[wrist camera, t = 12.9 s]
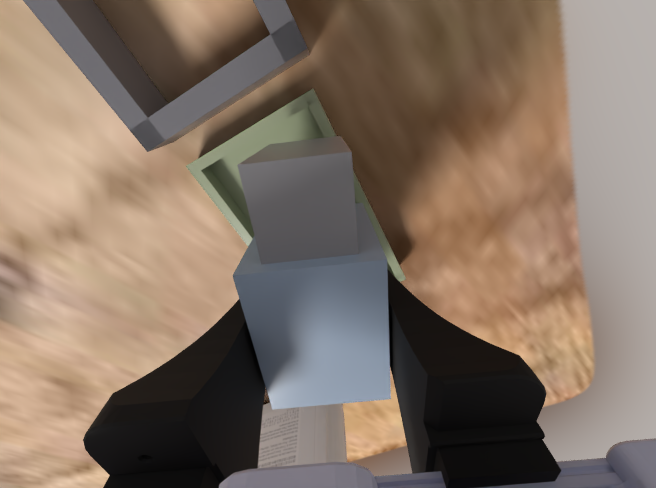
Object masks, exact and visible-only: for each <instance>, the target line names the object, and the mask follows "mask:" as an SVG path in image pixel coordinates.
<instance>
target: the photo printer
mask: <svg viewBox="0 0 656 488" xmlns="http://www.w3.org/2000/svg"><path fill="white" fill-rule="evenodd" d="M329 462H346V463H347V453H346V437H345V423H344V412H343V404H342V403H340V404H329V405H318V406H307V407H296V408H285V409H273V410H272V406H271V403H267V404H264V405H263V412H262V423H261V433H260V445H259V457H258V468H268V467H280V466H292V465H305V464H317V463H329Z"/></svg>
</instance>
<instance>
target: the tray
mask: <svg viewBox="0 0 656 488" xmlns="http://www.w3.org/2000/svg"><path fill="white" fill-rule="evenodd" d="M334 136H337V135H336V133H335V131H334V129H333V127H332V125H331V123H330V121H329V119H328V117H327V115H326V113H325V111H324V109H323V107H322V105H321V103H320V100H319V98H318V96H317V94H316V92H315V90H314V88H313V89H311V90H310V91H308V92H306V93H305V94H303V95H301V96H300V97H298V98H297V99H295V100H293V101H292V102H290V103H288V104H287V105H285V106H283V107H282V108H280V109H279V110H277V111H275V112H274V113H272V114H270V115H269V116H267V117H265V118H264V119H262V120H261V121H259V122H257V123H256V124H254V125H252V126H251V127H249V128H248V129H246V130H244V131H243V132H241V133H239V134H238V135H236V136H234V137H233V138H231V139H230V140H228V141H226V142H225V143H223V144H221V145H220V146H218V147H216V148H215V149H213V150H212V151H210V152H208V153H207V154H205V155H203V156H202V157H200V158H198V159H197V160H195V161H194V162H192V163H190V164H189V165H187V166H186V167H187V168H188V170H189V171H190V172H191V174H192V175H193V176H194V177H195V179H196V180H197V181H198V183H199V184H200V185H201V186H202V188H203V189H204V190H205V192H206V193H207V194H208V195H209V197H210V198H211V199H212V201H213V202H214V203H215V204H216V206H217V207H218V208H219V210H220V211H221V212H222V214H223V215H224V216H225V217H226V219H227V220H228V221H229V223H230V224H231V225H232V226H233V228H234V229H235V230H236V232H237V233H238V234H239V235H240V237H241V238H242V239H243V241H244V242H245V243H246V244H247V246H249V245H250V243H251V241H252V239H253V237H254V232H253V228H252V224H251V219H250V215H249V211H248V207H247V203H246V199H245V195H244V190H243V186H242V182H241V178H240V174H239V170H238V166H237V165H238V164H240V163H241V162H243V161H244V160H246V159H247V158H249V157H251V156H252V155H254V154H255V153H257V152H258V151H260V150H261V149H263V148H264V147H266V146H268V145H269V144H276V143H284V142H292V141H301V140H309V139H317V138H326V137H334ZM353 177H354V191H355V204H356V203H363V205H364V207H365V209H366V212H367V214H368V216H369V219H370V221H371V223H372V225H373V228H374V230H375V232H376V235H377V237H378V239H379V242H380V244H381V246H382V249H383V251H384V253H385V256H386V258H387V268H388V270H389V271H390V272H391V273H392V274H393V275H394V276H395V277H396V279H397V280H398V281H399V282H400V281H403V280H405V279H406V278H405V276H404V274H403V271H402V269H401V267H400V265H399V263H398V261H397V259H396V257H395V255H394V252H393V250H392V248H391V246H390V244H389V242H388V240H387V238H386V236H385V234H384V232H383V230H382V228H381V226H380V224H379V222H378V220H377V218H376V216H375V213H374V211H373V209H372V207H371V205H370V203H369V201H368V199H367V197H366V195H365V193H364V191H363V189H362V187H361V185H360V183H359V181H358V179H357V176H356V174H355V172H354V170H353Z"/></svg>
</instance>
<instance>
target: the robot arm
mask: <svg viewBox="0 0 656 488" xmlns="http://www.w3.org/2000/svg"><path fill="white" fill-rule="evenodd" d="M387 273H388V314H389V355H390V367H391V371H392V375H393V379H394V384H395V388H396V393H397V398H398V402H399V407H400V412H401V417H402V422H403V427H404V432H405V437H406V442H407V447H408V452H409V457H410V462H411V468H412V473H413V474H402V475H388V476H376V477H374V476H373V474H372V473H371V471H370V470H368V469H367V468H365V467H363V466H360V465H358V464H355V463H346V462H329V463H317V464H305V465H292V466H280V467H268V468H258V457H259V445H260V433H261V423H262V412H263V403H264V395H265V383H264V380H263V376H262V373H261V369H260V366H259V363H258V359H257V356H256V353H255V349H254V346H253V342H252V339H251V336H250V332H249V329H248V326H247V322H246V319H245V316H244V312H243V309H242V305H241V302H240V299H239V300H238V301H237V302H236V303H235V304H234V306H233V307H232V308H231V309H230V310H229V311H228V312H227V313H226V314H225V315H224V316H223V317H222V318H221V319H220V320H219V321H218V322H217V323H216V324H215V325H214V326H213V327H212V328H211V329H209V330H208V331H207V332H206V333H205V334H204V335H202V336H201V337H200V338H199V339H198V340H196V341H195V342H194V343H193V344H191V345H190V346H189V347H187V348H186V349H185V350H183V351H182V352H181V353H179V354H178V355H177V356H175V357H174V358H172V359H171V360H169V361H168V362H166V363H165V364H163V365H162V366H160V367H159V368H157V369H155V370H154V371H152V372H151V373H149V374H147V375H146V376H144V377H142V378H140V379H139V380H137V381H135V382H133V383H131V384H130V385H128V386H126V387H124V388H122V389H121V390H119V391H117V392H115V393H113V394H112V396H111V397H110V398H109V400H108V401H107V403H106V404H105V406H104V407H103V409H102V410H101V412H100V413H99V415H98V416H97V418H96V419H95V421H94V422H93V424H92V425H91V426H90V428H89V429H88V431H87V432H86V434H85V437H84V439H83V441H84V445H85V449H86V451H87V452H88V453H89V455H90V456H91V457H92V458H93V459H94V460H95V461H96V462H97V463H98V464H99V465H100V466H101V467H102V468H103V469H104V470H105V471H106V472H107V473H108V474H109V475H110V476H109V478H108V480H107V482H106V484H105V486H104V487H103V488H656V439H644V440H632V441H625V442H620V443H618V444H615V445H613V446H612V447H611V448H610V449H609V451H608V452H607V455H606V458H598V459H586V460H573V461H561V462H556V461H555V459H554V457H553V456H552V454H551V453H550V451H549V450H548V448H547V446H546V445H545V443H544V442H543V440H542V439H544V437H545V435H544V432H543V431H542V429H541V428H540V426H539V424H538V423H537V418H538V416H539V414H540V411H541V409H542V407H543V405H544V402H545V397H546V391H545V387H544V386H543V384H542V383H541V382H540V380H539V379H538V378H537V376H536V375H535V373H534V372H533V371H532V370H531V368H530V367H529V366H528V365H527V364H526V363H525V362H524V360H523V359H522V358H521V357H520V356H519V355H517V354H514V353H512V352H509V351H507V350H504V349H502V348H500V347H497V346H495V345H492V344H490V343H488V342H486V341H484V340H482V339H480V338H477V337H475V336H473V335H471V334H470V333H468V332H466V331H464V330H462V329H460V328H459V327H457V326H455V325H454V324H452V323H450V322H448V321H447V320H445V319H444V318H442V317H441V316H439V315H438V314H436V313H435V312H434V311H432V310H431V309H429V308H428V307H427V306H426V305H424V304H423V303H422V302H421V301H420V300H418V299H417V298H416V297H415V296H414V295H413V294H412V293H411V292H409V291H408V290H407V289H406V288H405V287H404V286H403V285H402V284H401V283H400V282H399V281H398V280H397V279H396V277H395V276H394V275H393V274H392V273H391V272H390V271H389V270H388V268H387Z"/></svg>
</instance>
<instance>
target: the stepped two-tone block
mask: <svg viewBox="0 0 656 488" xmlns="http://www.w3.org/2000/svg"><path fill="white" fill-rule="evenodd" d="M237 166H238V170H239V174H240V178H241V182H242V186H243V190H244V195H245V199H246V203H247V207H248V211H249V215H250V219H251V224H252V228H253V232H254V237H253V239H252V241H251V243H250V245H249V246H248V248H247V250H246V252H245V254H244V256H243V258H242V259H241V261H240V263H239V265H238V267H237V269H236V270H235V272H234V274H233V278H234V282H235V285H236V289H237V292H238V295H239V299H240V302H241V305H242V309H243V312H244V316H245V319H246V322H247V326H248V329H249V332H250V336H251V339H252V342H253V346H254V349H255V353H256V356H257V359H258V363H259V366H260V369H261V373H262V376H263V380H264V383H265V386H266V390H267V393H268V396H269V400H270V403H271V406H272V410H273V409H285V408H296V407H307V406H318V405H329V404H340V403H352V402H363V401H374V400H385V399H391V396H390V355H389V314H388V273H387V258H386V256H385V253H384V251H383V249H382V246H381V244H380V242H379V239H378V237H377V235H376V232H375V230H374V228H373V225H372V223H371V221H370V219H369V216H368V214H367V212H366V209H365V207H364V205H363V203H356V204H355V191H354V177H353V163H352V151H351V150H350V148H349V147H348V146H347V144H346V143H345V141H344V140H343V139H342V137H341V136H334V137H326V138H317V139H309V140H301V141H292V142H284V143H276V144H269V145H268V146H266V147H264V148H263V149H261V150H260V151H258V152H257V153H255V154H254V155H252V156H251V157H249V158H247V159H246V160H244V161H243V162H241V163H240V164H238V165H237Z"/></svg>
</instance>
